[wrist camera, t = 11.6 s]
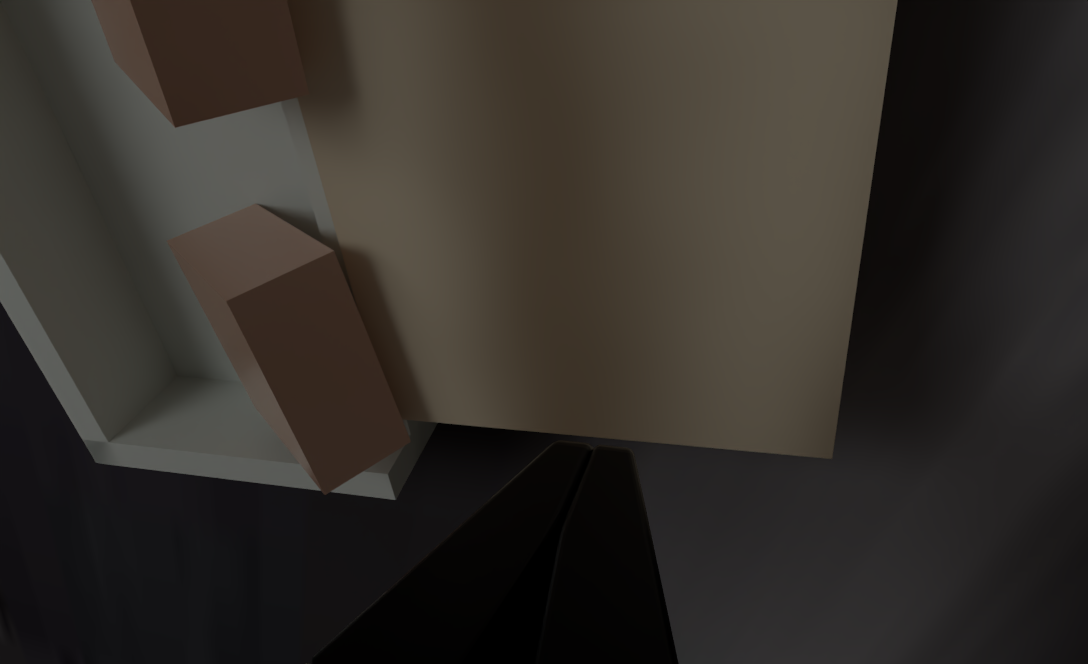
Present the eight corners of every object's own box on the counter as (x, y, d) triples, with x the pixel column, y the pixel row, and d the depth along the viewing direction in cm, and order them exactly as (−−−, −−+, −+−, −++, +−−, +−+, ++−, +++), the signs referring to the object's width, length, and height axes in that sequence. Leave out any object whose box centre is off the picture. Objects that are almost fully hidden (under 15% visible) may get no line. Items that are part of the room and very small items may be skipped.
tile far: (334, 250, 13) (226, 300, 12) (411, 441, 16) (324, 494, 15) (255, 203, 17) (166, 240, 16) (328, 366, 19) (254, 406, 18)
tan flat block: (917, -391, 10) (961, -453, 7) (824, 362, 16) (832, 459, 14) (301, -278, 12) (183, -297, 10) (438, 339, 19) (389, 418, 16)
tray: (277, -360, 12) (118, -411, 9) (449, 401, 20) (395, 499, 17) (-123, -272, 14) (-351, -290, 11) (182, 379, 22) (96, 462, 19)
